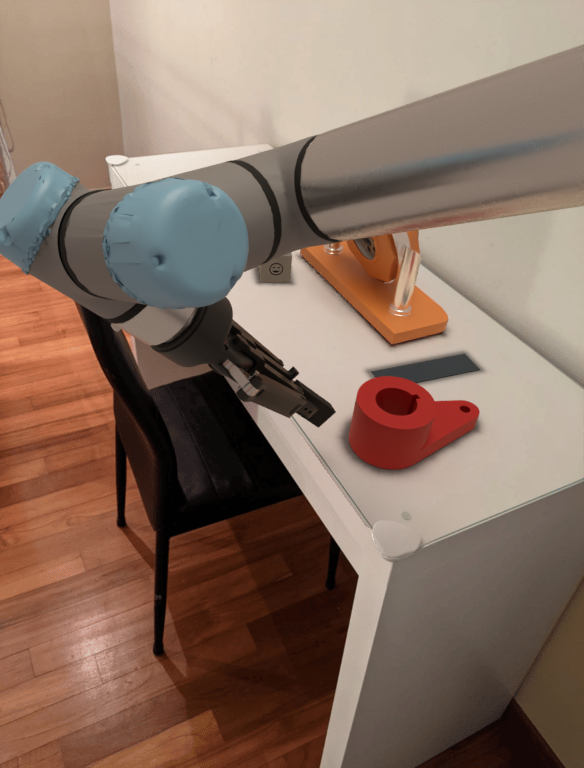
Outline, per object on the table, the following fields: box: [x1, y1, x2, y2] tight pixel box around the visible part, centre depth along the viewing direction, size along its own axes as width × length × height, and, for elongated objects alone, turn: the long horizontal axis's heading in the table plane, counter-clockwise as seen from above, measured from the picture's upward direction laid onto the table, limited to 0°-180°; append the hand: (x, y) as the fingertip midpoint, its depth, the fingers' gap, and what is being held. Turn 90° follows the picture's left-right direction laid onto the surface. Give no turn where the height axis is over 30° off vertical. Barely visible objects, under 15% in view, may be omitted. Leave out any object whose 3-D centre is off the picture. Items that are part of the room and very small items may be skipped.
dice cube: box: [257, 252, 293, 284], centre depth 104 cm, size 5×5×5 cm
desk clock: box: [299, 230, 449, 345], centre depth 98 cm, size 12×30×20 cm, turn 27°
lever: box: [348, 376, 481, 471], centre depth 75 cm, size 18×9×7 cm, turn 113°
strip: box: [370, 353, 481, 384], centre depth 88 cm, size 4×16×1 cm, turn 112°
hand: (324, 415), depth 69 cm, fingers closed
